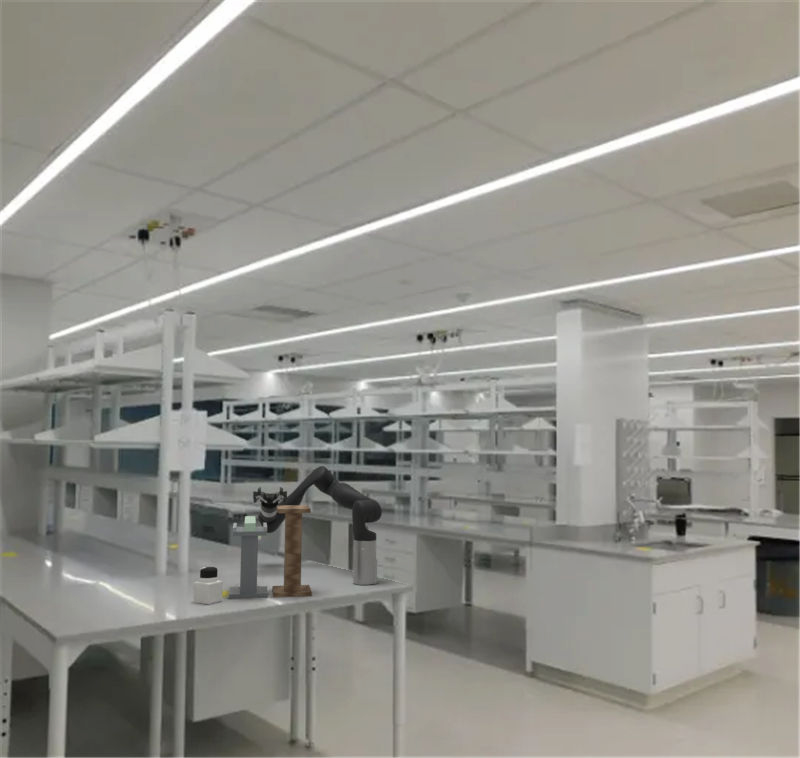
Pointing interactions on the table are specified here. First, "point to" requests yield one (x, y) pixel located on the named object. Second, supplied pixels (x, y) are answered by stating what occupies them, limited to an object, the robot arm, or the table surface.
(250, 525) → the slide box
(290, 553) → the brown pedestal stand
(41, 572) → the table surface
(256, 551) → the gray pedestal stand
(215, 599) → the medicine bottle
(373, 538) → the robot arm
